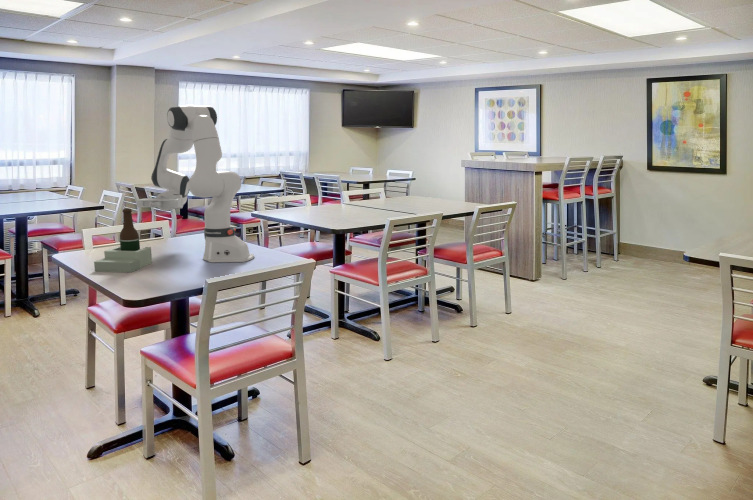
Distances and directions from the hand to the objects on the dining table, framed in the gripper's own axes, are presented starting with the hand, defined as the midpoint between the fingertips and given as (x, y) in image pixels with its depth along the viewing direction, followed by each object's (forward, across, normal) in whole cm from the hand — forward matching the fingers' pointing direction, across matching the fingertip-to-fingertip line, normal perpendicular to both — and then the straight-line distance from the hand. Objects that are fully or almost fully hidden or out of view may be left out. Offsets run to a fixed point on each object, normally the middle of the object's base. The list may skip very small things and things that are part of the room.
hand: (151, 204), depth 275 cm
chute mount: (+26, 0, +23) cm, 35 cm away
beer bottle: (+20, -1, +24) cm, 31 cm away
